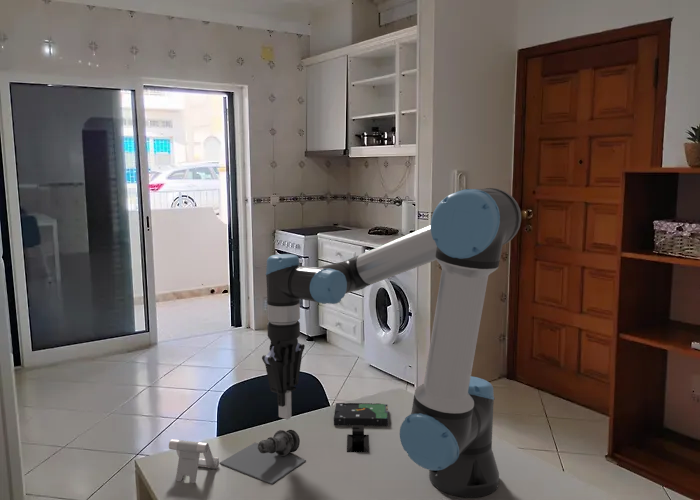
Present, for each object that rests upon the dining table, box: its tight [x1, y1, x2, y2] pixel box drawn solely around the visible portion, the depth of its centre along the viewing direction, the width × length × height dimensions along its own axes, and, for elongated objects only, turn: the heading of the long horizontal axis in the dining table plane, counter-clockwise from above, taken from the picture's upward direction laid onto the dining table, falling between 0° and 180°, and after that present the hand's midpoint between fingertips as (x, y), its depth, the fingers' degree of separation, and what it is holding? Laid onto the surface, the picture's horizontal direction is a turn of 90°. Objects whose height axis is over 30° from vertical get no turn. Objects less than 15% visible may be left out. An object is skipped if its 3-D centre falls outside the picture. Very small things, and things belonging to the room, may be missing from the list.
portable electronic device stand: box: [168, 438, 220, 484], centre depth 129 cm, size 9×8×8 cm
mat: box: [219, 442, 307, 485], centre depth 134 cm, size 16×12×1 cm
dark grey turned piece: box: [258, 429, 301, 456], centre depth 134 cm, size 6×6×12 cm
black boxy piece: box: [346, 425, 370, 453], centre depth 143 cm, size 12×7×5 cm, turn 179°
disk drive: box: [333, 402, 389, 427], centre depth 158 cm, size 10×3×15 cm
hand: (285, 417), depth 136 cm, fingers closed
